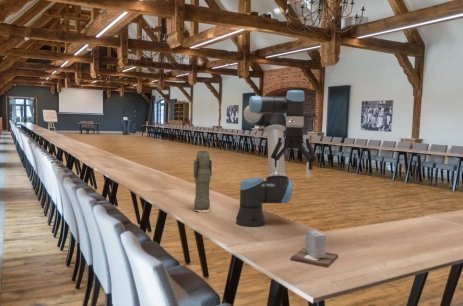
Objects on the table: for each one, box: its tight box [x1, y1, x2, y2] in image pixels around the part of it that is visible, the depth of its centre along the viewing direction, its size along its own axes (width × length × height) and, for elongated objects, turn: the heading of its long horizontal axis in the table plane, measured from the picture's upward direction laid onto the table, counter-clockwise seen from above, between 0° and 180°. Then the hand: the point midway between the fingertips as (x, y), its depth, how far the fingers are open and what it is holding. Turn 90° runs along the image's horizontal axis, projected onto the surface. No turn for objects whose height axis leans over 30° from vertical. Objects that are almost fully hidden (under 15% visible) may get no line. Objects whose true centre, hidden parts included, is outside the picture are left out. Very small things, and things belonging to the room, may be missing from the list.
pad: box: [290, 247, 339, 268], centre depth 150 cm, size 14×14×1 cm
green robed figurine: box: [193, 150, 213, 211], centre depth 231 cm, size 9×12×35 cm
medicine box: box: [305, 229, 327, 258], centre depth 150 cm, size 8×4×9 cm, turn 14°
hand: (292, 176), depth 171 cm, fingers open, 13 cm apart
